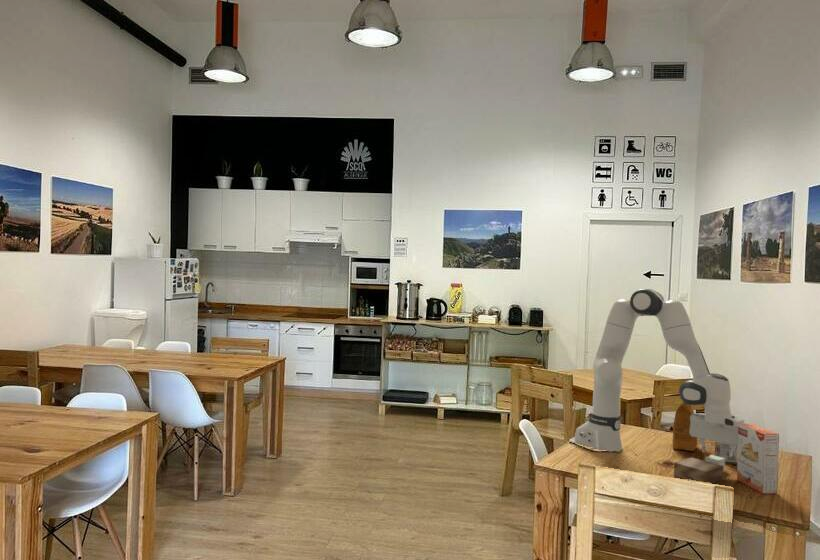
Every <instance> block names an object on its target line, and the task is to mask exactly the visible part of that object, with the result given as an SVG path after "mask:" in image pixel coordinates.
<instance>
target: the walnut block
mask: <svg viewBox="0 0 820 560" xmlns="http://www.w3.org/2000/svg"><path fill="white" fill-rule="evenodd" d="M673 463H674V464H673V466H674V467H673V477H676V478H679V479H682V478H685V479H691V480H696V481H703V482H710V483H713V484H715V483H717V482H716V481H718V482H720V481H719V480H721V481H723V480H724V472H723V466H722V465H718V464H714V463H711V462H707V461H705V460H702V459H699V458H696V457H691V456H690V457H687V458H685V459H682V460H679V461H675V462H673ZM685 479H684V480H685ZM722 479H723V480H722Z"/></svg>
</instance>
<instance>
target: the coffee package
mask: <svg viewBox="0 0 820 560" xmlns="http://www.w3.org/2000/svg"><path fill="white" fill-rule="evenodd" d="M694 413H696V412H695V411H694V409H693V407H692V405H689V404H686V403H685V402H683V401H682V403H681V404H680V405H679V406H678V408H677V409H676V411H675V414H674V421H673V428H672V444H671V445H672V449H673V450H679V451H688V452H691V451H693V452H694V451H695V450H696V448H697V445H698V438H697V437H692V436H691V435H690V433H689V431H690V424H691V421H690V416H691V415H692V414H694Z"/></svg>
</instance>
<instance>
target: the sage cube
mask: <svg viewBox="0 0 820 560" xmlns="http://www.w3.org/2000/svg"><path fill="white" fill-rule="evenodd" d="M704 461H707V462H711V463H714V464H718V465H722V466H723V473H724V472H725V471H726V469H725V467H726V465H725V464H726V462H725V458H722V457H718V456H715V454H710V455H707V456H705V457H704Z"/></svg>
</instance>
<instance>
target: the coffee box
mask: <svg viewBox="0 0 820 560" xmlns="http://www.w3.org/2000/svg"><path fill="white" fill-rule="evenodd" d="M730 449H731V448H730V445H728V444H724V443H719V442H715V441H714V456H718V457H722V458H725V463H736V464H737V462H738V447H737V446H736V448H735V450H734V451H733V456H732V457H729V456H727V451H730Z"/></svg>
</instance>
